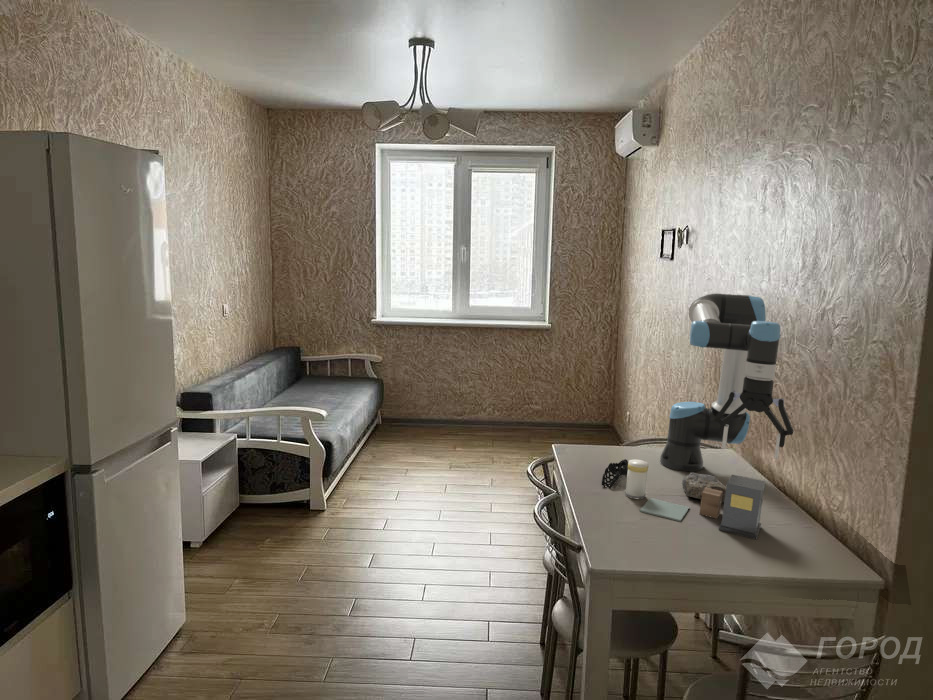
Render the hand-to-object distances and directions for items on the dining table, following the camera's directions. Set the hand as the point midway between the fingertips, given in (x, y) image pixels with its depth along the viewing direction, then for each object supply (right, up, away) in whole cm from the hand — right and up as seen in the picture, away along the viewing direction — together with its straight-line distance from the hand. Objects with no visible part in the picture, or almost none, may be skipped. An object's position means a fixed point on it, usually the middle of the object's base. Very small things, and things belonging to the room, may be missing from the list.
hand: (749, 453), depth 187 cm
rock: (-2, -19, +31) cm, 37 cm away
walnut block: (-5, -21, +17) cm, 27 cm away
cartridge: (-25, -18, +28) cm, 41 cm away
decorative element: (-27, -16, +43) cm, 53 cm away
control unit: (0, -23, +7) cm, 24 cm away
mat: (-18, -20, +17) cm, 32 cm away
